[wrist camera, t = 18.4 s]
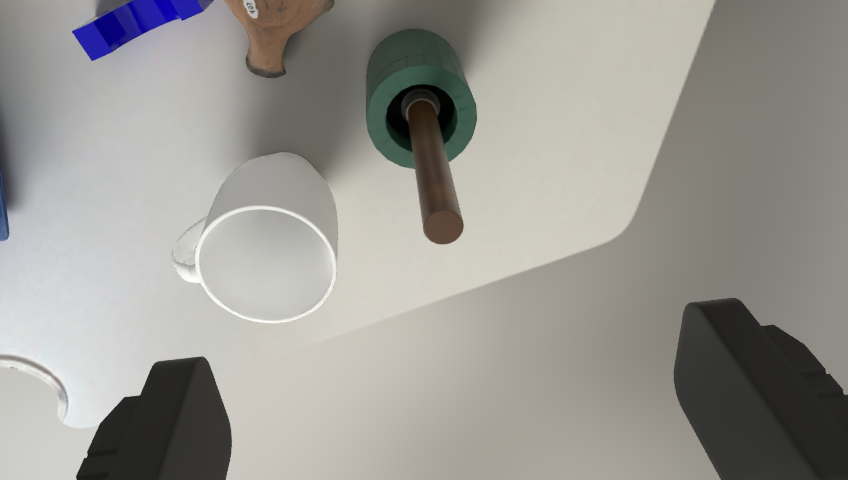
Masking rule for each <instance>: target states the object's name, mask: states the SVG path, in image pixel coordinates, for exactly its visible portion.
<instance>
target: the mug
mask: <svg viewBox="0 0 848 480" xmlns="http://www.w3.org/2000/svg"><path fill="white" fill-rule="evenodd" d="M337 245H338V223H337V211H336V205H335V201H334V198H333V195H332V192H331V190H330V188H329V186H328V185H327V183H326V181H325V180H324V179H323V177H322V176H321V175H320V174H319V173H318V172H317V171H316V170H315V169H314V167H313V166H312V165H311V164H310V163H309V162H308V161H307V160H306V159H304V158H303V157H301V156H299V155H296V154H293V153H289V152H278V153H274V154H270V155H266V156H261V157H257V158H254V159H252V160H249V161H247V162H245V163H244V164H242V165H240V166H239V167H238V168H236V169H235V170H234V171H233V172H232V173H231V174H230V175H229V176H228V177H227V179H226V180H225V181H224V183H223V184H222V186H221V187H220V189H219V191H218V193H217V195H216V197H215V199H214V202H213V204H212V207H211V209H210V212H209V214H208V216H206V217H204V218H203V219H201V220H200V221H198V222H197V223H195V224H194V225H193V226H192V227H190V228H189V229H188V230H187V231H186V232H185V233H184V234H183V235H182V236H181V237H180V238H179V239H178V241H177V242H176V244H175V246H174V248H173V251H172V260H173V263H174V266H175V268H176V270H177V271H178V273H179V274H180V276H181V277H182V278H183V279H184V280H186V281H189V282H192V283H195V284H197V283H198V282H200V283H201V284H202V286H203V287H204V289H205V291H206V292H207V293H208V294H209V296H210V297H211V298H212V299H213V300H214V301H215V302H216V303H217V304H219V305H220V306H221V307H223V308H224V309H226V310H227V311H229V312H231V313H233V314H235V315H237V316H239V317H242V318H244V319H248V320H251V321H256V322H263V323H281V322H288V321H292V320H295V319H299V318H301V317H304V316H306V315H308V314H309V313H311V312H313V311H314V310H316V309H317V308H318V307H319V306H320V305H322V304H323V303H324V301H325V300H326V299H327V298H328V296H329V295H330V293H331V291H332V289H333V287H334V284H335V281H336V277H337ZM195 248H196V253H195V264H194V265H192V266H189V265H187V264H184V263H185V261H186V259H187V257H188V256H189V255H190V254H191V252H192V251H193V250H194V249H195Z"/></svg>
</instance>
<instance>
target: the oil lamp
mask: <svg viewBox="0 0 848 480" xmlns="http://www.w3.org/2000/svg"><path fill="white" fill-rule="evenodd" d="M224 1H225V2H226V3H227V4H228V6H229V8H230V9H231V10H232V12H233V13H234V15H235V16H236V17H237V18H238V20H239V21H240V22H241V23H242V24H243V25H244V26H245V28H246V31H247V34H248V36H249V40H250V45H249V50H248V54H247V56H246V65H247V68H248V69H249V70H250V71H251V72H253V73H254V74H256V75H259V76H262V77H267V78H277V77H280V76H282V75H285V74H286V71H285V68H284V64H283V52H284V49H285V46H286V43H287V41H288V39H289V37H290V36H291V35H292V34H293V33H295V32H298V31H300V30H302V29H303V28H305V27H306V26H307V25H308V24H310V23H311V22H312V21H313V20H314V19H316V18H317V17H318V16H320V15H321V14H323V13H325V12H327V11H329V10H330V9H331V8H332V7H333V5H334V0H224Z"/></svg>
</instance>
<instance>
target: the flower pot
mask: <svg viewBox="0 0 848 480" xmlns="http://www.w3.org/2000/svg"><path fill="white" fill-rule="evenodd" d="M8 236H9V226H8V217H7V210H6V203H5V196H4V189H3V181H2V175H1V168H0V241H4V240H6V239H8Z"/></svg>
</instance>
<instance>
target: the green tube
mask: <svg viewBox="0 0 848 480" xmlns="http://www.w3.org/2000/svg"><path fill="white" fill-rule="evenodd" d="M419 84H427V85H432V86H436V89H437V93H438V96H439V100H440V105H441V109H440V113H439V116H438V117H437V118H438V122H439V126H440V130H441V134H442V138H443V142H444V147H445V151H446V155H447V159H448V162H450V161H451V160H453V159H454V158H455V157H456V156H458V155H459V154H460V153H461V152H462V151H463V150H464V149H465V147H466V146H467V144H468V143H469V141H470V140H471V138H472V136H473V133H474V129H475V126H476V121H477V113H476V103H475V101H474V98H473V96H472V93H471V91H470V88H469V86H468V83H467V81H466V78H465V76H464V73H463V71H462V68H461V66H460V63H459V61H458V58H457V56H456V54H455V52H454V50H453V49H452V48H451V46H450V45H449V44H448V43H447V42H446V41H445V40H444V39H443V38H441V37H440V36H438V35H436V34H435V33H432V32H430V31H426V30H422V29H407V30H402V31H399V32H396V33H394V34H392V35H390V36H389V37H387V38H386V39H384V40H383V41H382V42H381V43H380V44H379V45H378V46H377V48H376V49H375V51H374V52H373V54H372V56H371V58H370V61H369V64H368V69H367V76H366V120H367V127H368V132H369V135H370V137H371V139H372V141H373V143H374V145H375V147H376V149H377V150H378V151H380V152H381V153H382V154H383V155H384V156H385V157H386V158H387V159H388V160H390V161H392V162H394V163H396V164H397V165H399V166H403V167H407V168H413V169H415V166H414V158H413V151H412V144H411V137H410V130H409V123H408V122H406V121H405V119H404V118H403V116H402V114H401V110H400V102H399V94H398V93H399V92H400V91H402V90H403V89H405V88H408V87H410V86H412V85H419Z"/></svg>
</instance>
